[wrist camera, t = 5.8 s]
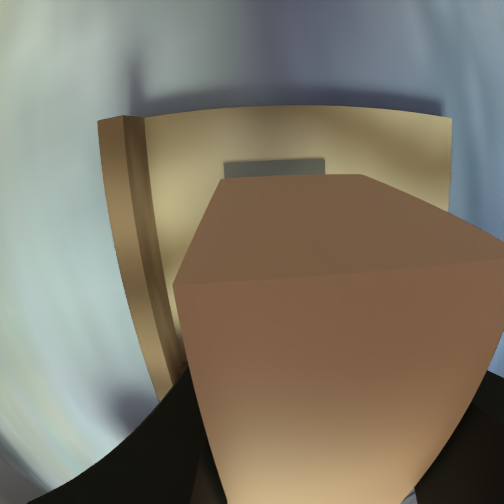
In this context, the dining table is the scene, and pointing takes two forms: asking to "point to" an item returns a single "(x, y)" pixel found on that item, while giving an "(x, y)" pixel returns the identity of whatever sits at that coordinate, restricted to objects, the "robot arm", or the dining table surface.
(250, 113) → the wooden tray
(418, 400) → the block
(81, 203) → the dining table surface
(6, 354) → the dining table surface
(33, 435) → the dining table surface
